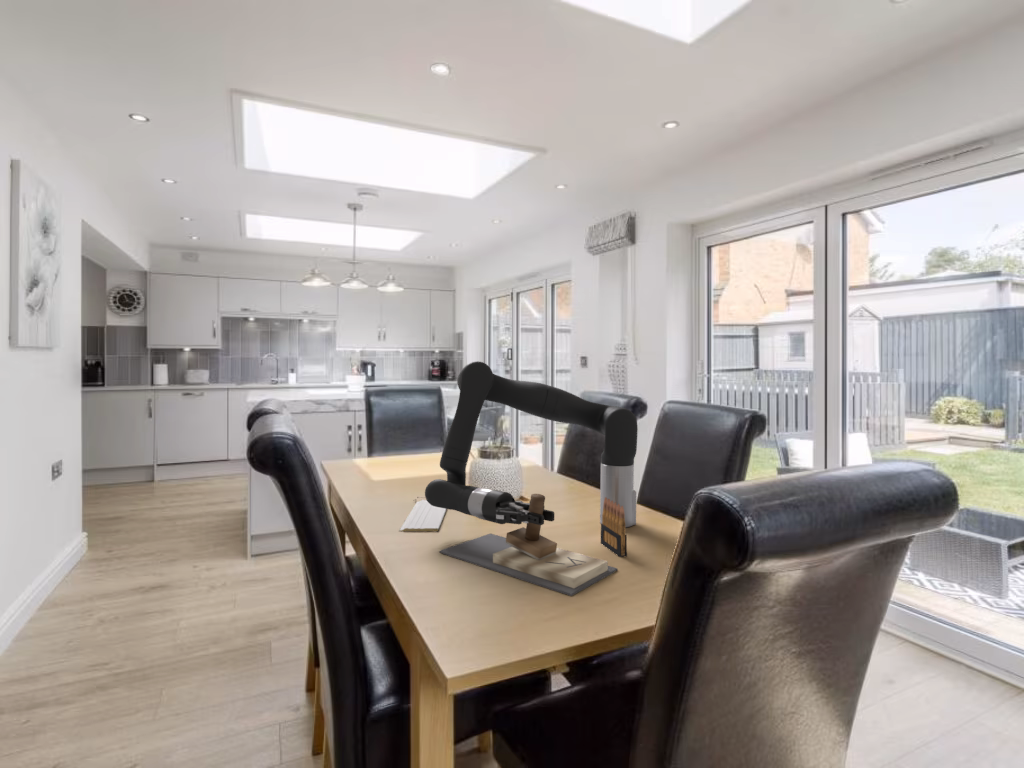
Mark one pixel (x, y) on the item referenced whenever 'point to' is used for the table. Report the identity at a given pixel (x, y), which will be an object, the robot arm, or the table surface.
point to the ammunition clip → (614, 528)
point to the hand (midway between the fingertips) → (548, 518)
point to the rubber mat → (482, 555)
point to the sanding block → (532, 534)
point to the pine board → (554, 565)
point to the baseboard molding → (424, 517)
